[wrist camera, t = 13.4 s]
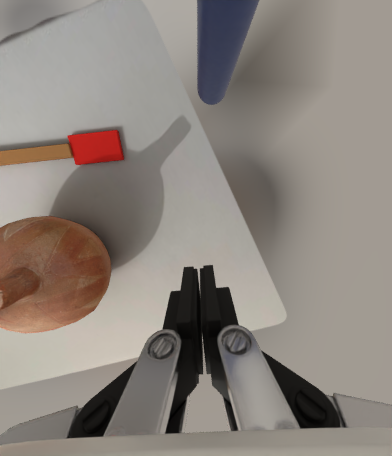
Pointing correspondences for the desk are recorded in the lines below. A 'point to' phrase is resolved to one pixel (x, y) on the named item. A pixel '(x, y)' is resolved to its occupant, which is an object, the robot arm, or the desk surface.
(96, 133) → the spatula
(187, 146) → the desk surface
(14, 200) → the desk surface
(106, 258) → the jug
